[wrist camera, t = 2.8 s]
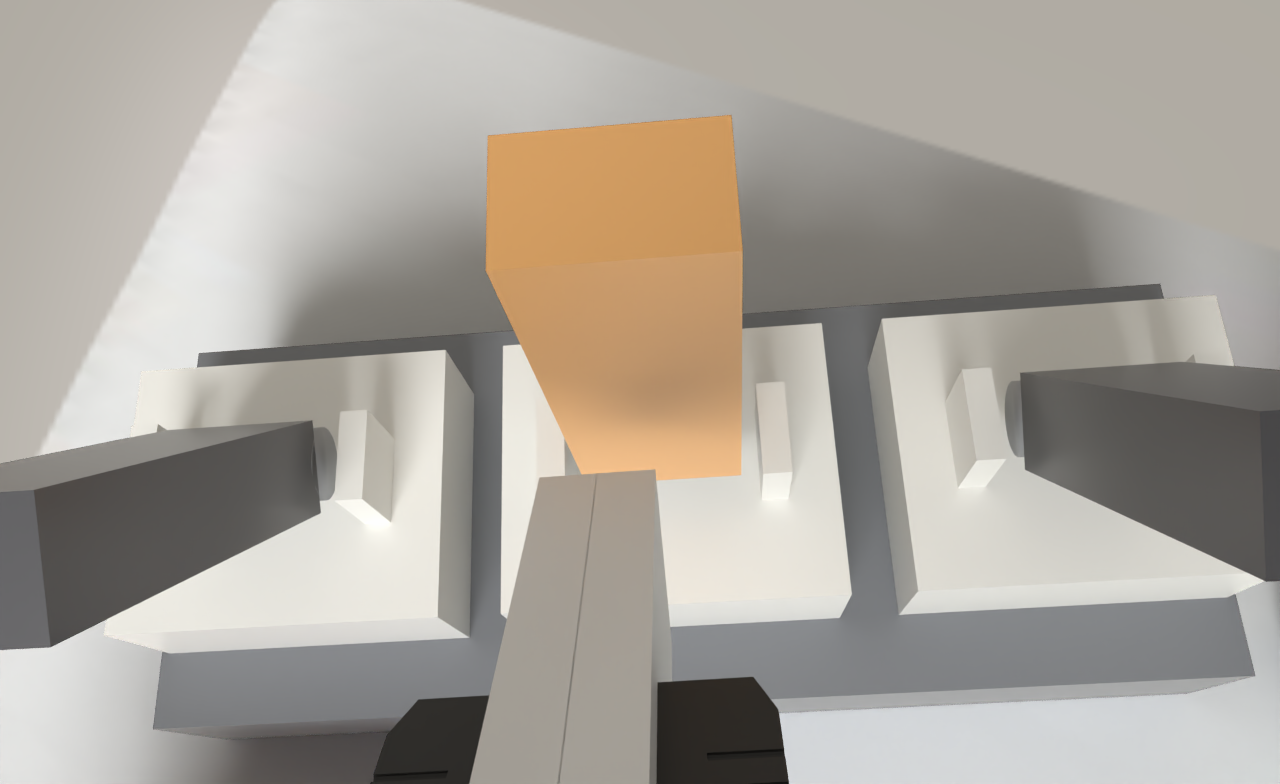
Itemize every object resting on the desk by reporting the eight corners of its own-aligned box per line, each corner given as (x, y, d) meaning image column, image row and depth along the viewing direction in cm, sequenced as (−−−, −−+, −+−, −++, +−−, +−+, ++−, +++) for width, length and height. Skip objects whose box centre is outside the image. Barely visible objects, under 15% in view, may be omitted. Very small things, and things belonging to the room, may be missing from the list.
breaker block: (1188, 698, 28) (1848, 536, 11) (225, 744, 30) (-431, 660, 13) (1111, 345, 32) (1523, -170, 15) (258, 403, 33) (-220, -1, 17)
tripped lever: (741, 492, 23) (742, 251, 13) (594, 501, 23) (485, 270, 13) (734, 405, 24) (731, 114, 14) (592, 415, 24) (487, 135, 14)
